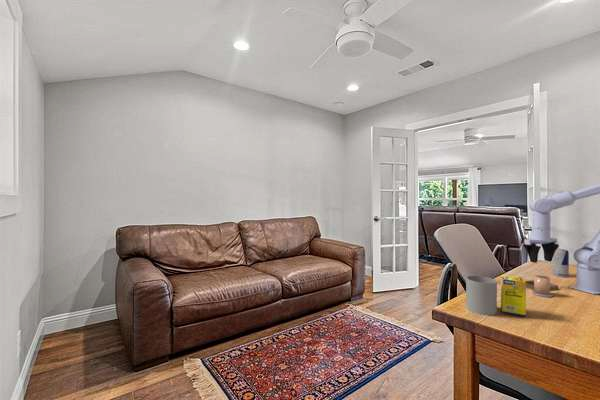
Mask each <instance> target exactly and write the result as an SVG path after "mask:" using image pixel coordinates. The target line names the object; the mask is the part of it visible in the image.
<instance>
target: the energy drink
mask: <svg viewBox="0 0 600 400" xmlns="http://www.w3.org/2000/svg"><path fill="white" fill-rule="evenodd" d="M569 256H570V252H569V249H566V248H557V250H556V251H555V253H554V255H553V258H552V276H555V277H558V278H559V277H561V278H568V277H569V276H570V275H569V274H570V273H569V271H570V267H569V264H570V262H569V261H570V260H569V259H570V257H569Z"/></svg>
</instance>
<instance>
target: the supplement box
mask: <svg viewBox="0 0 600 400" xmlns="http://www.w3.org/2000/svg"><path fill="white" fill-rule="evenodd" d="M525 281H526V280H525V278H524V277H523V276H515V275H514V276H513V275H506V274H501V275H500V309H501V314H504V315H509V316H510V315H511V316H515V317H520V318H526V317H527V316H526V312H527V311H526V310H527V306H526V305H527V304H526V302H527V299H526V297H527V296H526V292H527V290H526V289H527V288H526V282H525Z"/></svg>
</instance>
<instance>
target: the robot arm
mask: <svg viewBox="0 0 600 400" xmlns="http://www.w3.org/2000/svg"><path fill="white" fill-rule="evenodd" d="M596 195H600V183H599V182H598V183H596V184H593V185H590V186H586V187H584V188H580V189H578V190H575V191H572V192H571V191H567V190H559V191H557V193H555V194H551V195H544V196H542V197H543V198H536V199H534V200H532V201H531V202H530V205H529V209H530V210H531V214H532V216H531V237H529V238H526V239H524V243H523V245H522V246H523V247H524V249H525V250H526V252H527V255H528V259H529V261H530V262H531V263H535V264H536V263H538V260H539V258H538V257H539V253H540V250H541V248H542V250H543V258H544V261H546V262H553V255H554V253H555V251H556V250H557V249H559V247H560V244H558V238H555V237H554V238H553V237H551V213H552V211H553V210H558V209H561V208H565V207H568V206H572V205H574V204H575V202H576V201H578V200H581V199H584V198H589V197H591V196H596ZM573 258H574V260H575V262H577V263H576V285H573V286H570V289H574V290H578V291H581V292H586V293H589V294H593V295H600V229H599V230H598V232H597V233H596V234H595V236H594V237H593V238H592V239H591V240H590V241H589V242H587V243H585V244H583V246H582V247H580V248H578V249H575V251H574V253H573Z"/></svg>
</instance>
